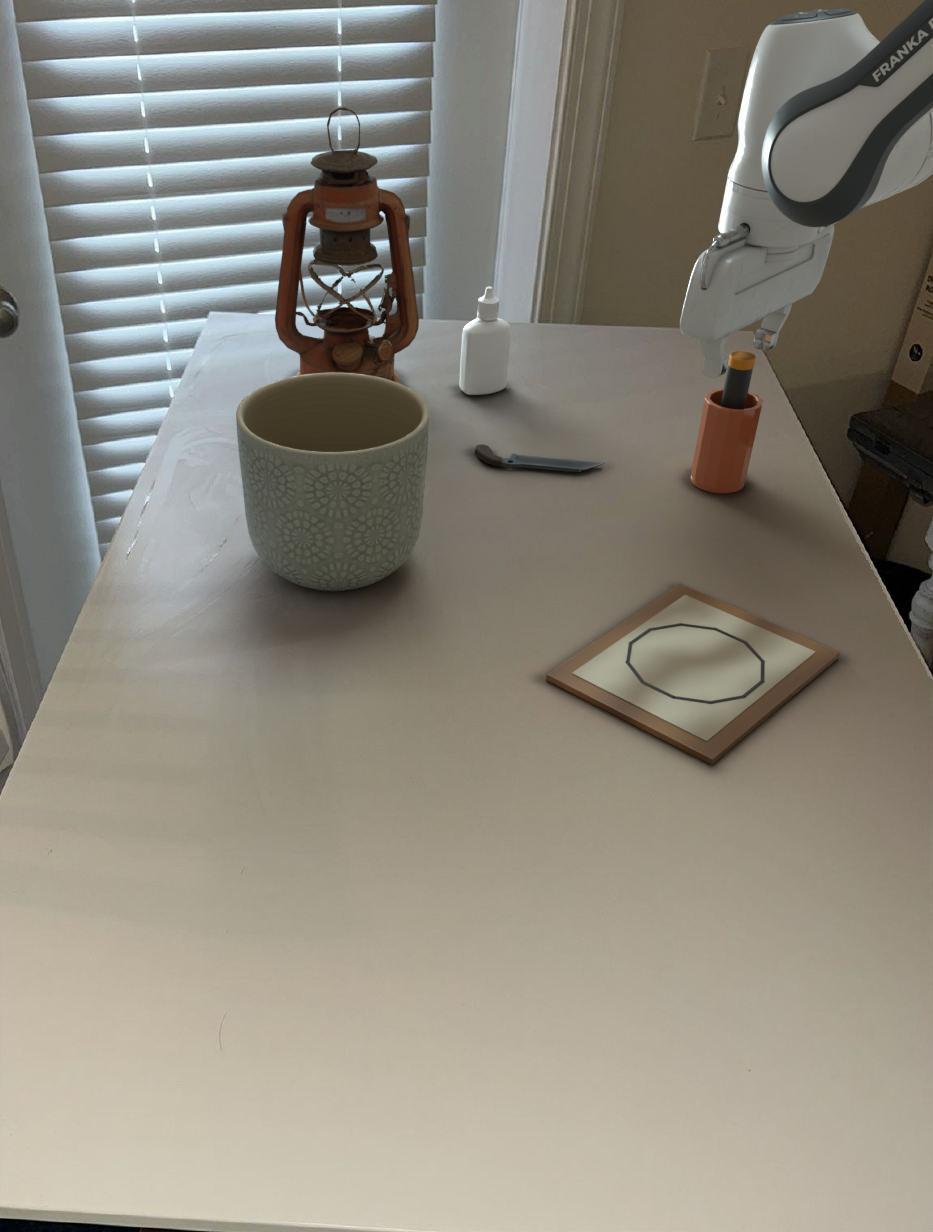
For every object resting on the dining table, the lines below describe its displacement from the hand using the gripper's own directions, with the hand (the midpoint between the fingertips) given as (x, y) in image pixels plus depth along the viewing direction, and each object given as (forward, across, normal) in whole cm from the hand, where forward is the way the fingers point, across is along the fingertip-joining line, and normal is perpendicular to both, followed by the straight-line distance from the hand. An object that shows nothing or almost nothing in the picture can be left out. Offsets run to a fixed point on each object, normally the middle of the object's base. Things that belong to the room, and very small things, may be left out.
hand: (739, 361), depth 123 cm
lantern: (+14, -8, +46) cm, 48 cm away
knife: (+13, -10, +16) cm, 23 cm away
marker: (+12, 0, 0) cm, 12 cm away
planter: (+13, -40, +17) cm, 45 cm away
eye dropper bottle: (+13, +1, +33) cm, 35 cm away
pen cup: (+13, 0, 0) cm, 13 cm away
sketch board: (+13, -31, -17) cm, 37 cm away
